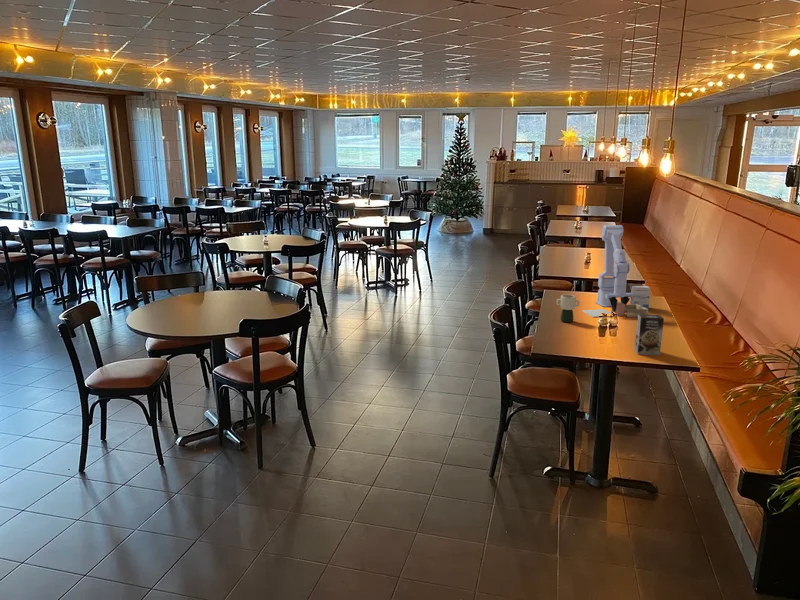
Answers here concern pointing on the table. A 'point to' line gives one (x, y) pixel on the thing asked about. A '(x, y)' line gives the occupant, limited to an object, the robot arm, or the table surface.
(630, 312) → the frame
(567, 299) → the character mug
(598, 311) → the pad
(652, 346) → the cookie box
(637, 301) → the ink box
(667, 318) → the table surface
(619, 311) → the block
